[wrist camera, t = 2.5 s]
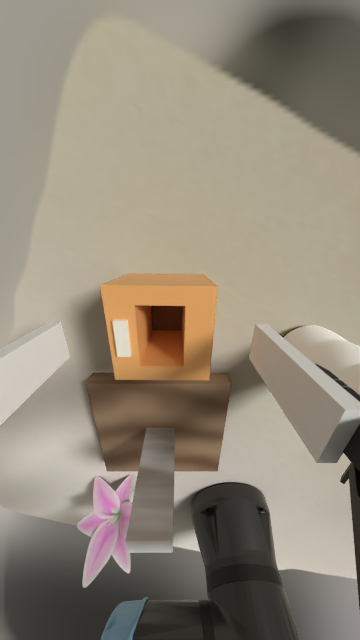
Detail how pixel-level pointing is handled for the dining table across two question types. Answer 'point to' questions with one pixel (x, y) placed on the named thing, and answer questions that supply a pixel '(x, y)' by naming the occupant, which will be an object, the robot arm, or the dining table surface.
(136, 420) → the board
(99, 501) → the lily
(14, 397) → the robot arm
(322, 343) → the water bottle
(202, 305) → the orange slotted box
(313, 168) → the dining table surface
